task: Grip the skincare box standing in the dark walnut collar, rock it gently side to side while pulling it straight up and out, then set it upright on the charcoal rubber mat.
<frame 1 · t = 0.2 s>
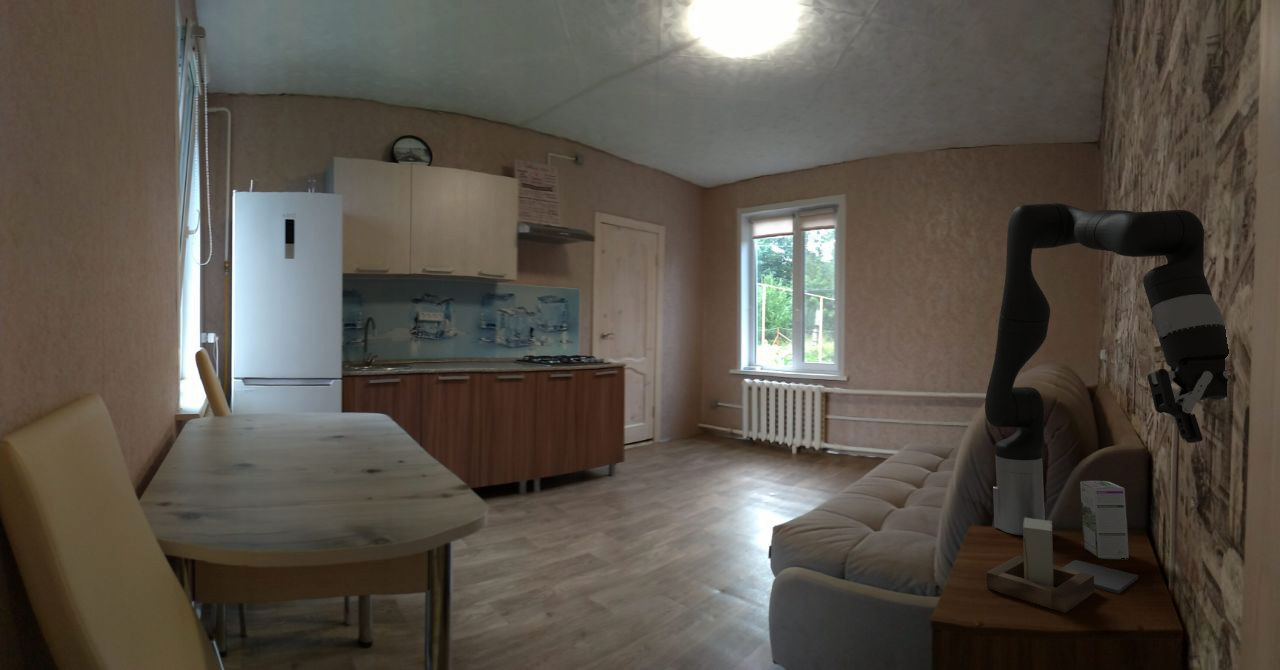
hand: (1228, 441, 81), 31 cm above the table, tool tilted 20°, fingers open, 8 cm apart
syrup box: (1105, 555, 121), on the table
walnut collar: (1039, 590, 106), on the table
skincare box: (1040, 591, 106), resting in walnut collar
rubber mat: (1095, 577, 111), on the table
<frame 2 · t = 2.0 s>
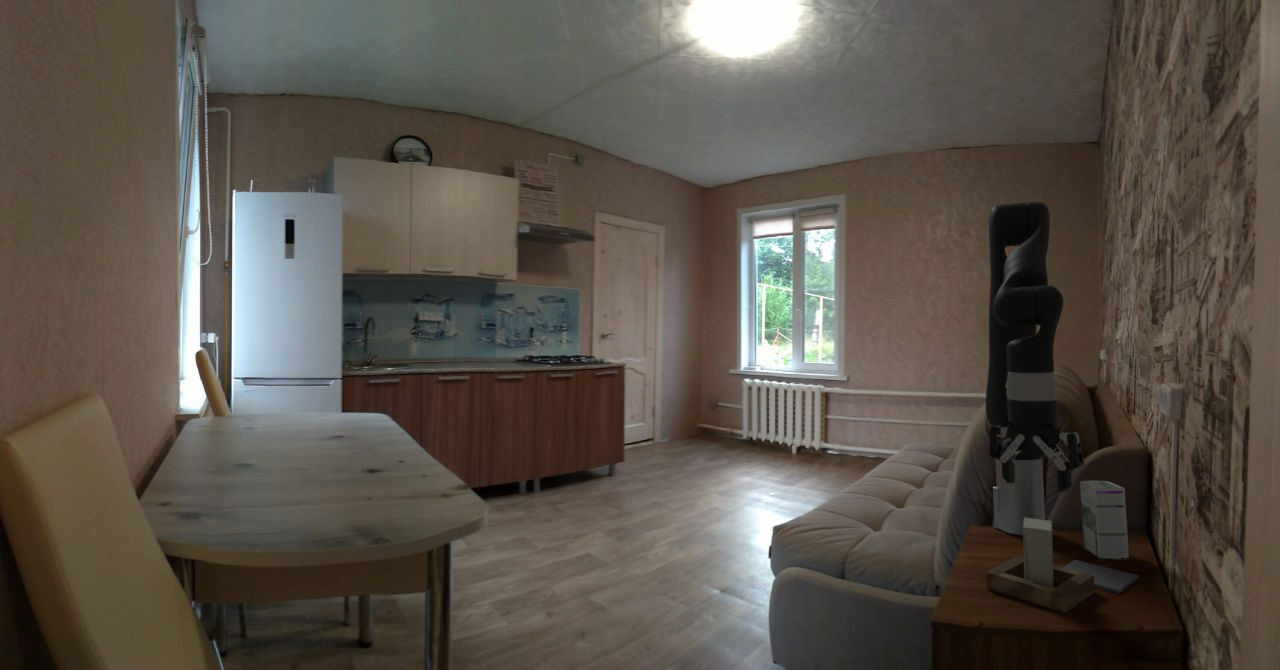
hand: (1035, 486, 106), 19 cm above the table, tool pointing down, fingers open, 8 cm apart
nothing on the table moved.
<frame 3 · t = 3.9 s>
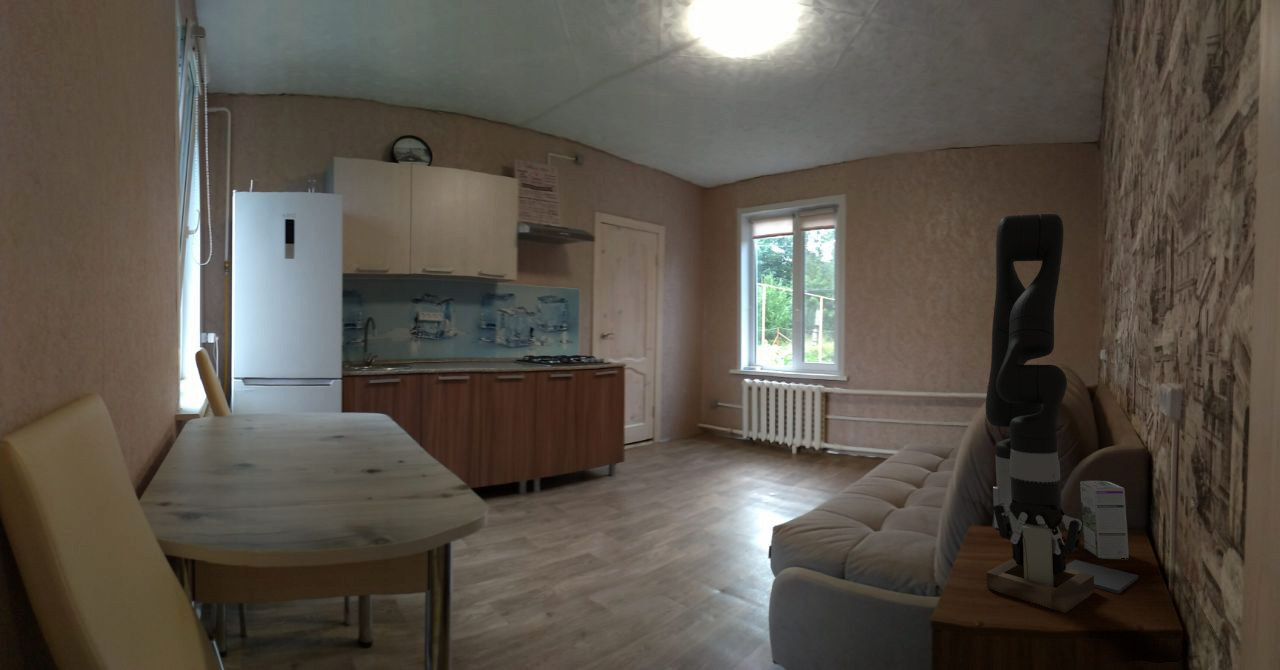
hand: (1038, 568, 106), 4 cm above the table, tool pointing down, fingers closed on skincare box, 5 cm apart
skincare box: (1040, 591, 106), resting in walnut collar, touching gripper
everything else where it was.
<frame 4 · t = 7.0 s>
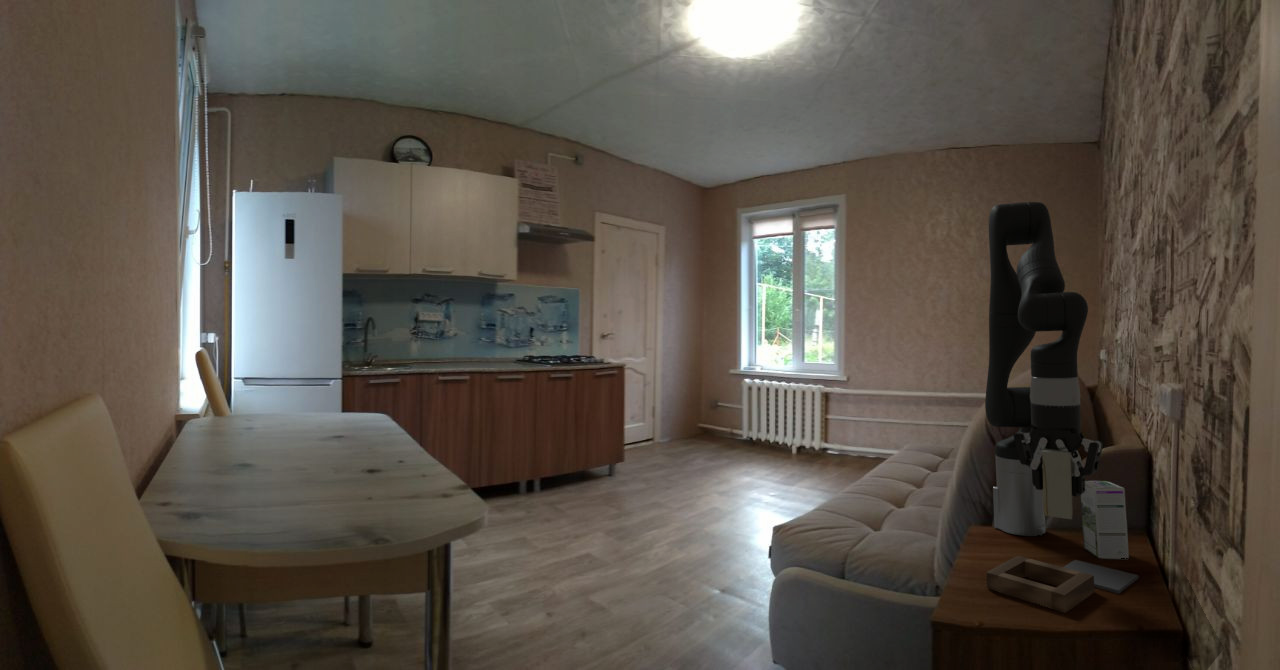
hand: (1058, 491, 109), 17 cm above the table, tool pointing down, fingers closed on skincare box, 5 cm apart
skincare box: (1059, 514, 109), point 13 cm above the table, touching gripper
everything else where it was.
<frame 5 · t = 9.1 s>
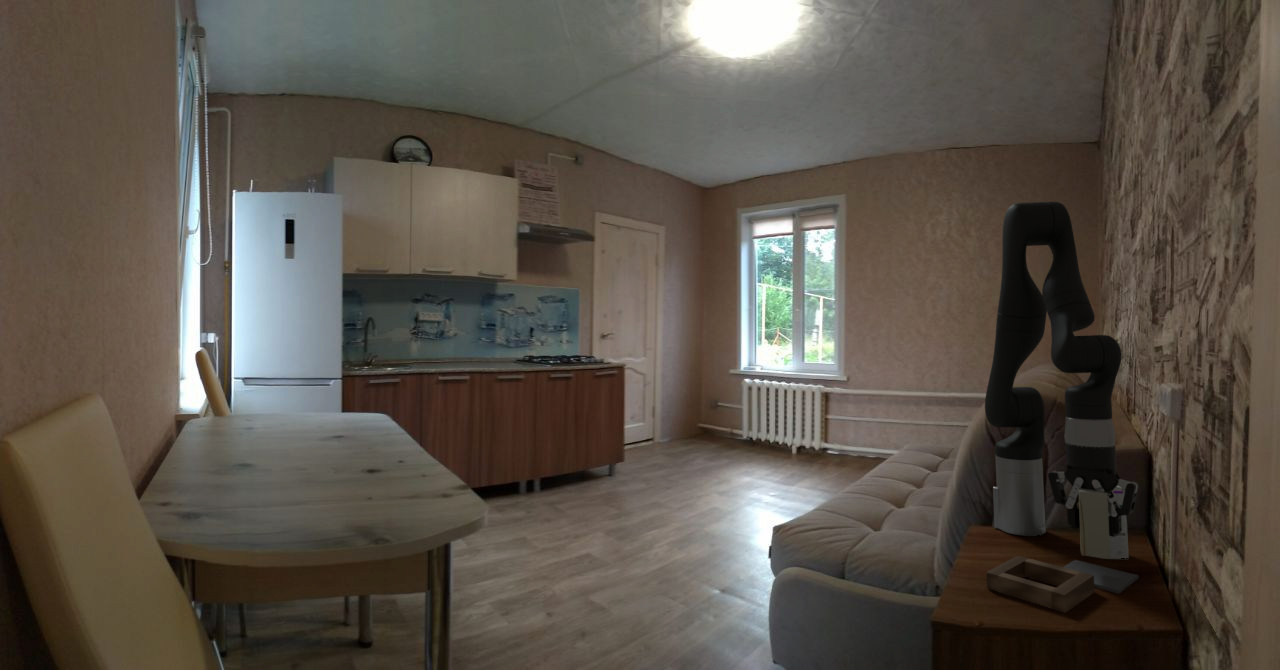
hand: (1094, 531, 111), 9 cm above the table, tool pointing down, fingers closed on skincare box, 5 cm apart
skincare box: (1095, 553, 111), point 4 cm above the table, touching gripper
everything else where it was.
when the fingers open (6 cm above the table, at t = 10.5 s): skincare box drops 1 cm, resting on rubber mat.
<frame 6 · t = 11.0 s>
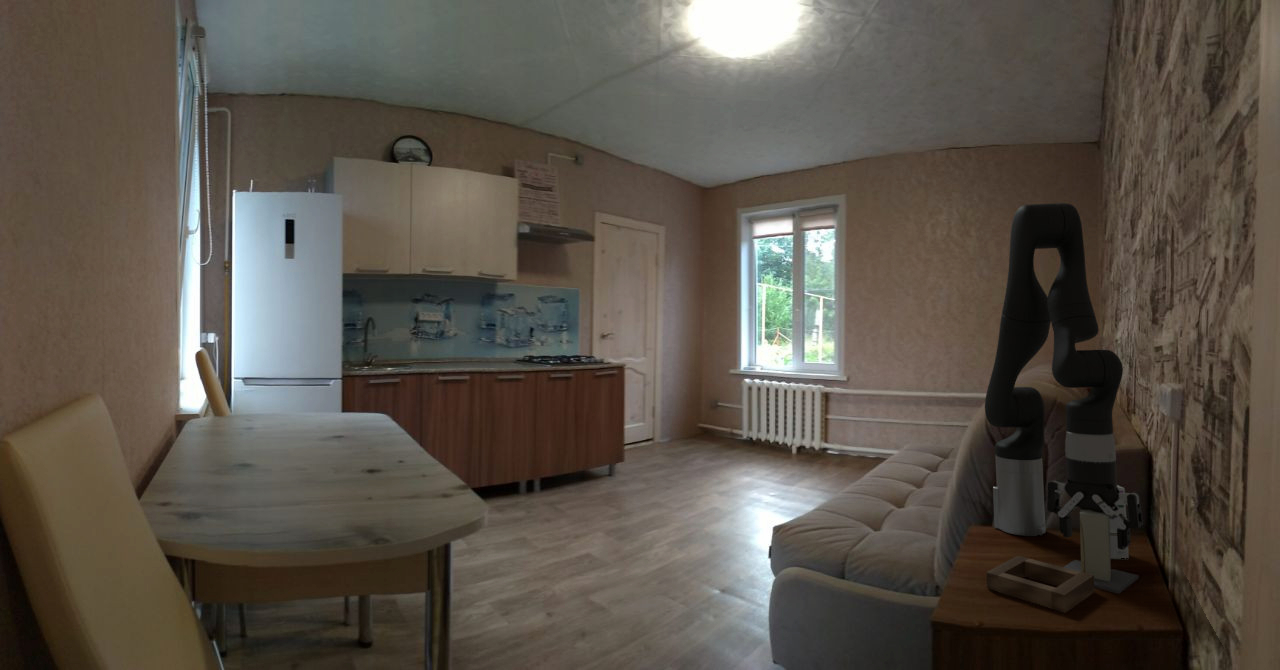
hand: (1094, 542, 111), 7 cm above the table, tool pointing down, fingers open, 8 cm apart
skincare box: (1096, 575, 111), resting on rubber mat
everything else where it was.
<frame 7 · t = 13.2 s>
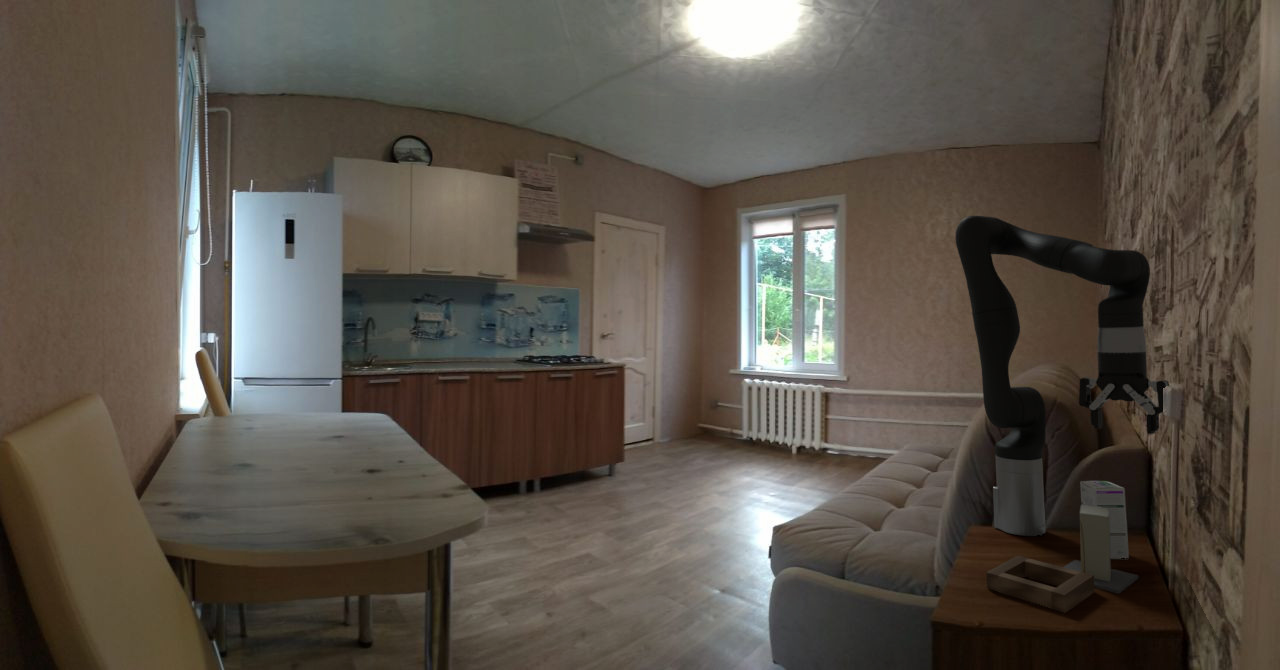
hand: (1124, 430, 118), 26 cm above the table, tool pointing down, fingers open, 8 cm apart
nothing on the table moved.
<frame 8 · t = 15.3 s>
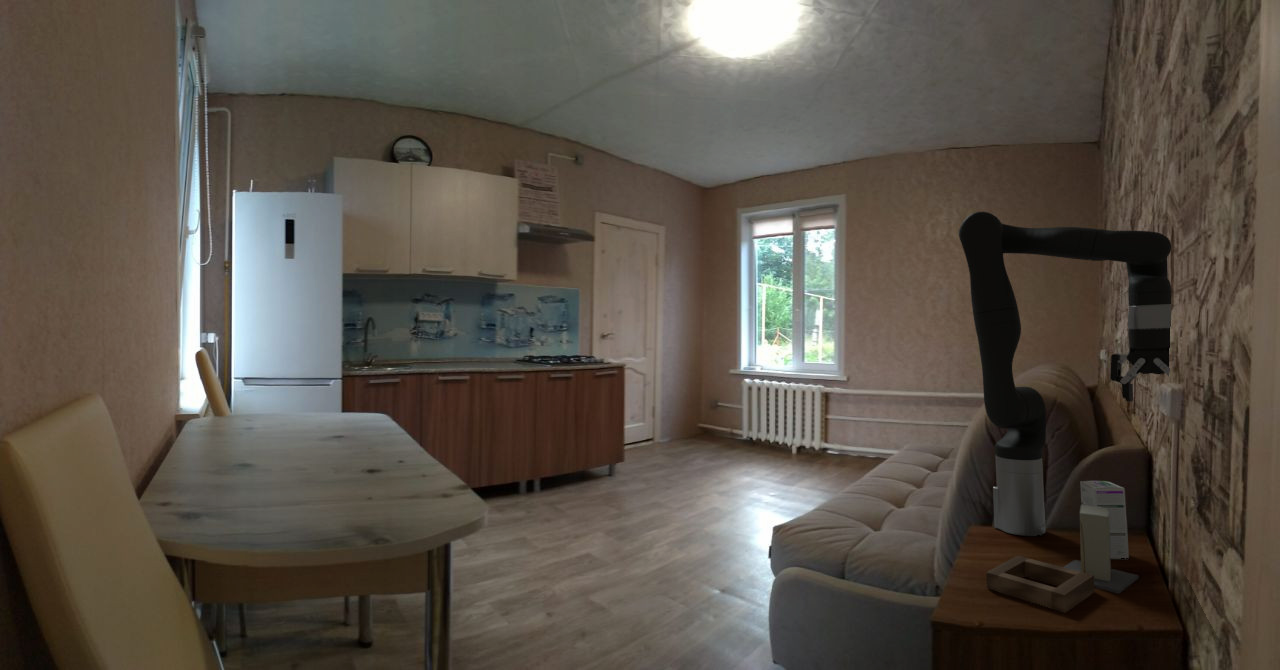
hand: (1154, 402, 126), 30 cm above the table, tool pointing down, fingers open, 8 cm apart
nothing on the table moved.
at the end: skincare box inside the target area on the rubber mat (0.2 cm from its centre), point 0.4 cm above the rubber mat's base; skincare box tilted 0°; the gripper is holding nothing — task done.
